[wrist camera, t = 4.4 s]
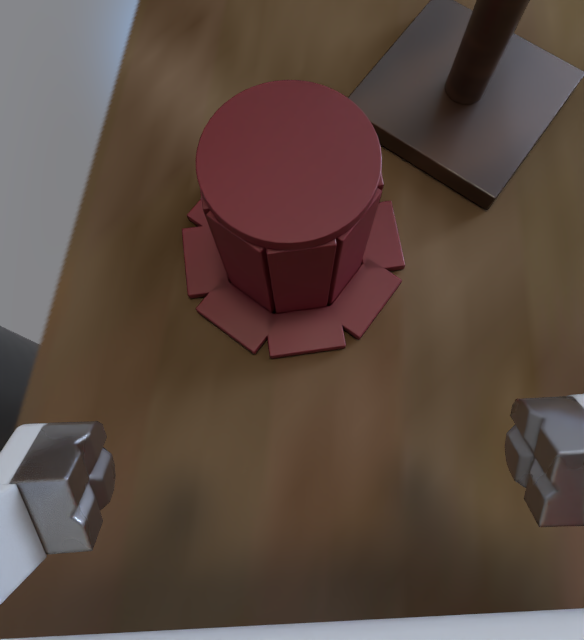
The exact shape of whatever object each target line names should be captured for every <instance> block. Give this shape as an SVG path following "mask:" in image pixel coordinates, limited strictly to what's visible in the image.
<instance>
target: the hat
mask: <svg viewBox="0 0 584 640" xmlns="http://www.w3.org/2000/svg"><path fill="white" fill-rule="evenodd" d="M381 169H382V154H381V146H380V143H379V139H378V136H377V134H376V132H375V129H374V127H373V125H372V124H371V122H370V120H369V119H368V117H367V116H366V115H365V114H364V112H363V111H362V110H361V109H360V108H359V107H358V106H357V105H356V104H355V103H354V102H353V101H351V100H350V99H348V98H347V97H346V96H344V95H343V94H341V93H339V92H337V91H335V90H333V89H331V88H329V87H326V86H323V85H320V84H316V83H313V82H307V81H300V80H280V81H273V82H267V83H263V84H260V85H256V86H253V87H251V88H249V89H246V90H244V91H242V92H240V93H239V94H237V95H235V96H234V97H232V98H231V99H230V100H228V101H227V102H226V103H224V104H223V105H222V106H221V107H220V108H219V109H218V110H217V111H216V112H215V114H214V115H213V116H212V117H211V119H210V120H209V122H208V123H207V125H206V127H205V128H204V130H203V133H202V135H201V137H200V140H199V144H198V147H197V153H196V173H197V179H198V183H199V186H200V191H201V199H200V201H199V202H198V203H197V204H196V205H195V206H194V207H193V208H192V210H191V211H190V212H189V213H188V214H187V217H188V219H189V220H190V221H191V222H193V223H194V224H196V225H197V226H198V227H192V228H185V229H182V237H183V248H184V259H185V270H186V281H187V292H188V296H189V298H198V297H205V296H206V297H205V298H204V299H203V300H202V302H201V303H200V304H199V305H198V306H197V308H196V310H197V312H198V313H199V314H201V315H202V316H203V317H205V318H206V319H207V320H209V321H210V322H211V323H213V324H214V325H215V326H217V327H218V328H219V329H221V330H222V331H223V332H225V333H226V334H227V335H229V336H230V337H232V338H233V339H234V340H236V341H237V342H238V343H240V344H241V345H242V346H244V347H245V348H246V349H248V350H249V351H250V352H252V353H253V354H256V353H257V351H258V350H259V349H260V348H261V346H262V345H263V344H264V342H265V341H266V340H267V339H268V347H269V354H270V358H271V359H272V358H279V357H286V356H293V355H300V354H307V353H314V352H322V351H329V350H336V349H343V348H345V346H346V344H345V338H344V332H343V329H344V330H345V331H347V332H348V333H350V334H351V335H352V336H354V337H355V338H357V339H358V340H359V339H360V338H361V337H362V335H363V334H364V333H365V331H366V330H367V328H368V327H369V326H370V324H371V323H372V322H373V320H374V319H375V318H376V316H377V315H378V314H379V312H380V311H381V309H382V308H383V307H384V305H385V304H386V303H387V301H388V300H389V299H390V297H391V296H392V295H393V293H394V292H395V291H396V289H397V288H398V286H399V285H400V284H401V282H402V280H401V279H400V278H398V277H397V276H395V275H394V274H392V273H391V272H389V271H393V270H400V269H404V267H405V262H404V257H403V252H402V248H401V243H400V238H399V234H398V229H397V225H396V220H395V215H394V211H393V206H392V202H391V201H384V202H379V201H380V198H381V194H382V189H383V186H384V182H383V178H382V173H381ZM360 265H361V266H360ZM230 282H231V283H232V284H231V283H230ZM327 304H328V305H329V306H327ZM275 310H276V314H273V312H274V311H275Z"/></svg>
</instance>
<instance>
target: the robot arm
mask: <svg viewBox="0 0 584 640" xmlns="http://www.w3.org/2000/svg"><path fill="white" fill-rule="evenodd" d="M510 416H511V418H512V419H513V421H514V423H515V425H514V426H513V427H512V428H511V429H510V430H509V431H508V432H507V434H506V441H505V455H506V462H507V465H508V468H509V471H510V473H511V475H512V477H513V479H514V481H516V482H517V483H519V484H520V485H522V486H523V487H525V488H526V491H525V496H524V500H525V502H526V503H527V505H528V507H529V509H530V511H531V513H532V515H533V516H534V518H535V520H536V522H537V524H538V526H539V527H557V526H584V394H578V395H568V396H559V397H542V398H525V399H516V400H515V402H514V403H513V405H512V409H511V414H510ZM106 438H107V436H106V433H105V430H104V427H103V424H101V423H100V422H98V421H93V422H62V423H48V424H46V423H41V424H23V425H21V426H19V427H17V428H16V430H15V431H14V433H13V434H12V436H11V437H10V439H9V440H8V442H7V443H6V445H5V446H4V448H3V449H2V451H1V452H0V604H1V603H2V602H3V601H4V600H5V599H6V598H7V597H8V596H9V595H10V594H11V593H12V592H13V591H14V590H15V589H16V588H17V587H18V586H19V585H20V584H21V583H22V582H23V581H24V580H25V579H26V578H27V577H28V576H29V575H30V574H31V573H32V572H33V571H34V570H35V568H36V567H37V566H38V565H39V564H40V563H41V562H42V561H43V560H44V559H45V558H46V557H47V556H46V554H58V553H70V552H82V551H92V550H93V547H94V545H95V542H96V539H97V536H98V534H99V531H100V528H101V525H102V523H103V519H102V516H101V513H100V510H101V509H102V508H104V507H105V506H106V505H107V504H108V503H109V502H110V500H111V497H112V494H113V491H114V484H115V464H114V460H113V457H112V454H111V453H110V452H108V451H107V450H106V449H105V448H103V445H104V443H105V441H106ZM0 640H584V608H581V609H562V610H543V611H524V612H505V613H486V614H468V615H449V616H430V617H411V618H392V619H373V620H354V621H335V622H316V623H297V624H278V625H259V626H240V627H220V628H201V629H182V630H164V631H145V632H126V633H107V634H88V635H69V636H50V637H31V638H12V639H0Z"/></svg>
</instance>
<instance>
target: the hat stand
mask: <svg viewBox="0 0 584 640" xmlns="http://www.w3.org/2000/svg"><path fill="white" fill-rule="evenodd" d="M529 1H530V0H477V1H476V4H475V6H474V9H473V11H472V10H470V9H468V8H467V7H465V6H463V5H461V4H459V3H457V2H456V1H454V0H430V1H429V3H428V4H427V5H426V6H425V7H424V9H423V10H422V11H421V12H420V13H419V14H418V16H417V17H416V18H415V19H414V20H413V21H412V23H411V24H410V25H409V26H408V27H407V29H406V30H405V31H404V32H403V33H402V34H401V36H400V37H399V38H398V39H397V40H396V42H395V43H394V44H393V45H392V46H391V47H390V49H389V50H388V51H387V52H386V53H385V54H384V56H383V57H382V58H381V59H380V60H379V62H378V63H377V64H376V65H375V66H374V67H373V69H372V70H371V71H370V72H369V73H368V74H367V76H366V77H365V78H364V79H363V80H362V82H361V83H360V84H359V85H358V86H357V87H356V89H355V90H354V91H353V92H352V93H351V94H350V96H349V97H348V99H350V100H351V101H353V102H354V103H355V104H356V105H357V106H358V107H359V108H360V109H361V110H362V111H363V112H364V114H365V115H366V116H367V117H368V119H369V120H370V122H371V124H372V125H373V127H374V129H375V132H376V134H377V136H378V139H379V143H380V144H381V145H383V146H384V147H386V148H388V149H389V150H391V151H393V152H394V153H396V154H397V155H399V156H401V157H402V158H404V159H405V160H407V161H409V162H410V163H412V164H413V165H415V166H417V167H418V168H420V169H421V170H423V171H425V172H426V173H428V174H430V175H431V176H433V177H434V178H436V179H438V180H439V181H441V182H442V183H444V184H446V185H447V186H449V187H450V188H452V189H454V190H455V191H457V192H458V193H460V194H462V195H463V196H465V197H466V198H468V199H470V200H471V201H473V202H475V203H476V204H478V205H479V206H481V207H483V208H484V209H486V210H487V209H489V207H490V206H491V205H492V203H493V202H494V200H495V199H496V198H497V196H498V195H499V193H500V192H501V191H502V189H503V188H504V187H505V185H506V184H507V182H508V181H509V180H510V178H511V177H512V175H513V174H514V173H515V171H516V170H517V168H518V167H519V166H520V164H521V163H522V161H523V160H524V159H525V157H526V156H527V155H528V153H529V152H530V150H531V149H532V148H533V146H534V145H535V143H536V142H537V141H538V139H539V138H540V136H541V135H542V134H543V132H544V131H545V130H546V128H547V127H548V125H549V124H550V123H551V121H552V120H553V118H554V117H555V116H556V114H557V113H558V111H559V110H560V109H561V107H562V106H563V104H564V103H565V102H566V100H567V99H568V98H569V96H570V95H571V93H572V92H573V91H574V89H575V88H576V86H577V85H578V84H579V82H580V81H581V79H582V78H583V77H584V71H582V70H580V69H578V68H576V67H574V66H573V65H571V64H569V63H567V62H565V61H564V60H562V59H560V58H558V57H556V56H554V55H553V54H551V53H549V52H547V51H545V50H543V49H542V48H540V47H538V46H536V45H534V44H532V43H531V42H529V41H527V40H525V39H523V38H521V37H520V36H518V35H516V34H514V32H515V30H516V28H517V25H518V23H519V21H520V19H521V17H522V15H523V13H524V11H525V9H526V7H527V5H528V3H529Z"/></svg>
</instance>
